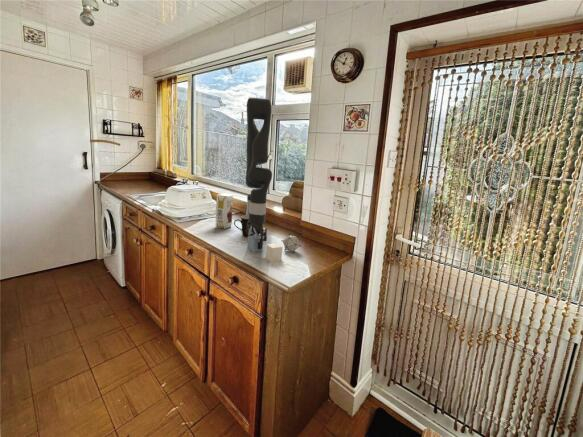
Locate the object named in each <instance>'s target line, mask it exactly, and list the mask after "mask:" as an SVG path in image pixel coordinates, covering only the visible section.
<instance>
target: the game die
mask: <svg viewBox="0 0 583 437" xmlns="http://www.w3.org/2000/svg"><path fill="white" fill-rule="evenodd" d="M280 242H282V243H283V246H284V251H285V252H286V251H289V252H292V253H293V254H295V251H296V250H298V248H299V247H302V245H300V242H299V235H297V236H295V235H291V234H290V233H288V236H287V237H285V238H284V239H283V240H281V241H280Z"/></svg>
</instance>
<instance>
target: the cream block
mask: <svg viewBox="0 0 583 437" xmlns="http://www.w3.org/2000/svg"><path fill="white" fill-rule="evenodd" d="M282 258H283V246H282V245H280V244H278V243H270V244H269V243H268V244H266V245H265V259H266V260H268V261H270V262H272V263H273V262H277V261H282Z"/></svg>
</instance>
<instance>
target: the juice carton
mask: <svg viewBox="0 0 583 437" xmlns="http://www.w3.org/2000/svg"><path fill="white" fill-rule="evenodd" d="M233 196H234V195H233V194H232V193H224V192H223V193H218V194H216V206H215V228H217V229H224V230H227V229H228V228H231V227H232V222H233V202H234V197H233Z"/></svg>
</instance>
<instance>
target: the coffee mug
mask: <svg viewBox="0 0 583 437" xmlns="http://www.w3.org/2000/svg"><path fill="white" fill-rule="evenodd" d="M236 222H240V224H241V228H240V227H238V226H237V225H236ZM247 222H249V216H246V215H241V216H240V219H238V218H237V219H235V220H234V222H233V225H234V226H235V227H236V229H238V230H239V231H240V232H241V235H242V237H243V238H244V237H245V238H248V234H246V228H247ZM249 230H250V229H248V231H249ZM254 235H255V234H254Z"/></svg>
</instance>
